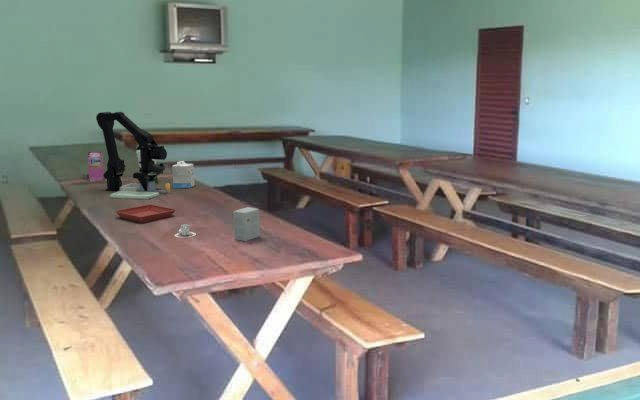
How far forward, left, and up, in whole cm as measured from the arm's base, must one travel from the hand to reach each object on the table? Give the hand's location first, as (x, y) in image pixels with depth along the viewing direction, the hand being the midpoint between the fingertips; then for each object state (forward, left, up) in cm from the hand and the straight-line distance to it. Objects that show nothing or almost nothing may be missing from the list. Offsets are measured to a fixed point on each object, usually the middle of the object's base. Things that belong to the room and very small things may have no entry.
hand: (148, 189), depth 319 cm
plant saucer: (+26, -50, -2) cm, 57 cm away
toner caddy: (+4, 0, -1) cm, 4 cm away
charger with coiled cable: (+56, -72, -2) cm, 91 cm away
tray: (-1, -12, -1) cm, 13 cm away
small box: (+79, -74, -1) cm, 108 cm away
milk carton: (-11, +22, -1) cm, 24 cm away
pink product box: (-50, +34, -1) cm, 61 cm away
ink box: (+12, +17, -1) cm, 20 cm away
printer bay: (-8, 0, -1) cm, 8 cm away
